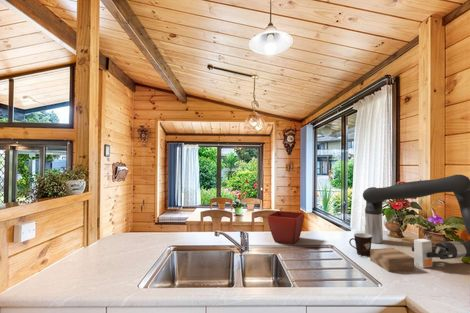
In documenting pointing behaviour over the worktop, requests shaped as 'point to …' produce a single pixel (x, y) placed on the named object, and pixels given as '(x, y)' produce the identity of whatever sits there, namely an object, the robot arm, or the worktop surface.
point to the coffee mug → (362, 243)
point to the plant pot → (286, 226)
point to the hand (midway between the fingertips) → (419, 252)
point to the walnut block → (392, 260)
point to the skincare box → (422, 252)
